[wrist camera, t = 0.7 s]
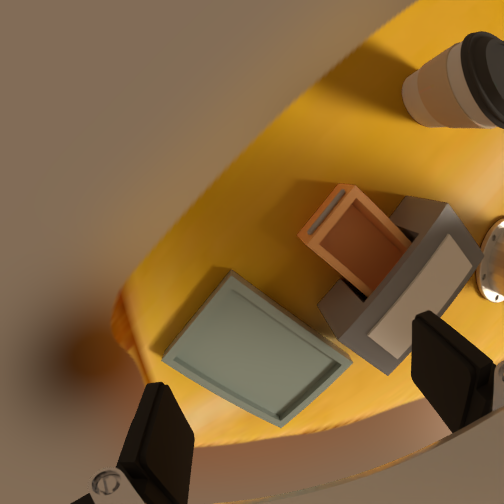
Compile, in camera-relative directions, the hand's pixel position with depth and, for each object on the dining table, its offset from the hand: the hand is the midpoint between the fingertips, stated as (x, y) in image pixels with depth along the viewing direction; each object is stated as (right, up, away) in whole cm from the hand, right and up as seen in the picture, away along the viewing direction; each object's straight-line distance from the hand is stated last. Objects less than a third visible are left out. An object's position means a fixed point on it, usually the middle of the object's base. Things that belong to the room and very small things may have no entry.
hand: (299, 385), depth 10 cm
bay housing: (+14, +3, +23) cm, 27 cm away
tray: (-1, -7, +25) cm, 26 cm away
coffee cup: (+19, +22, +19) cm, 35 cm away
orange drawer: (+10, +6, +23) cm, 25 cm away
